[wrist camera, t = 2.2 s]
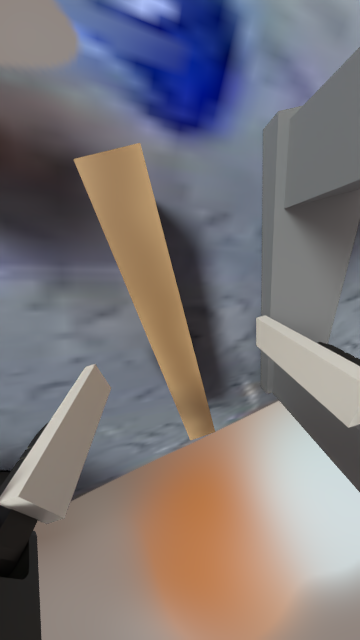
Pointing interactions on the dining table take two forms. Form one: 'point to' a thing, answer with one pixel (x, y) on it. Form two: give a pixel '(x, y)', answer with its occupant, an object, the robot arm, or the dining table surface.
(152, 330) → the slat
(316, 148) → the stand
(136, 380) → the dining table surface
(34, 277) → the dining table surface
